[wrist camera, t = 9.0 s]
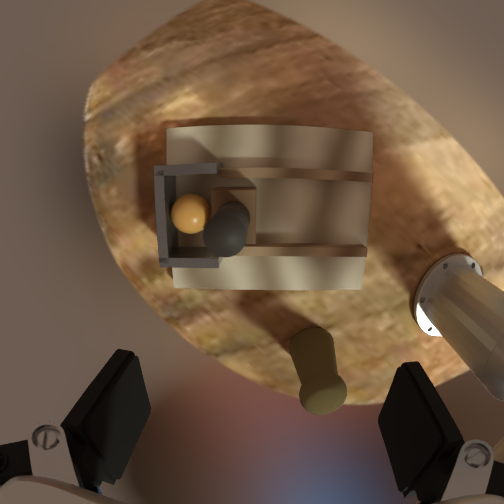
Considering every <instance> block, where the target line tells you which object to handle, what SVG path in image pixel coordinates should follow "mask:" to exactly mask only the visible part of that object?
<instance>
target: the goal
mask: <svg viewBox="0 0 504 504" xmlns="http://www.w3.org/2000/svg"><path fill="white" fill-rule="evenodd" d="M220 168H222V163H195V164H174V165H158V166H154V191H155V211H156V227H157V240H158V252H159V262H160V267H172V268H219V267H220V264H221V261H222V259H223V257H219V256H216V255H214V254H213V253H211V252H210V251H209V250H208V249H207V247H179V241H178V229H177V228H176V227H175V225H174V224H173V222H172V218H171V210H172V207H173V204H174V203H175V201H176V175H191V174H218V173H220Z"/></svg>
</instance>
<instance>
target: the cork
mask: <svg viewBox="0 0 504 504" xmlns="http://www.w3.org/2000/svg"><path fill="white" fill-rule="evenodd" d="M289 350H290V354H291V357H292V360H293V362H294V365H295V368H296V370H297V373H298V376H299V378H300V381H301V384H302V385H301V388H300V393H299V397H300V402H301V404H302V406H303V407H304V408H305V409H306V410H307V411H308V412H310V413H312V414H316V415H323V414H328V413H331V412H333V411H335V410H337V409H338V408H340V407H341V406H342V404H343V403H344V401H345V399H346V396H347V387H346V384H345V383H344V381H343V379H342V378H341V377H340V376H339V375H338V373H337V364H336V357H335V349H334V341H333V338H332V336H331V334H330V333H329V332H327V331H326V330H324V329H321V328H308V329H304V330H302V331H300V332H298V333H297V334H296V335H295V336H294V337H293V339H292V340H291V342H290V346H289Z"/></svg>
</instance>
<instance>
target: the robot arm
mask: <svg viewBox="0 0 504 504" xmlns="http://www.w3.org/2000/svg"><path fill="white" fill-rule="evenodd" d="M413 308H414V316H415V320H416V322H417V324H418V326H419V327H420V328H421V329H422V330H423V331H424V332H425V333H426V334H429V335H431V336H443V338H444V339H445V340H446V341H447V342H448V343H449V344H450V346H451V347H452V348H453V349H454V350H455V351H456V352H457V354H458V355H459V356H460V357H461V358H462V360H463V361H464V362H465V363H466V364H467V366H468V367H469V368H470V369H471V370H472V372H473V373H474V374H475V375H476V377H477V378H478V379H479V380H480V382H481V383H482V384H483V385H484V387H485V388H486V389H487V390H488V392H489V393H490V394H491V395H492V396H494V397H495V398H496V399H499V400H501V401H504V291H502V290H501V289H499V288H498V287H496V286H495V285H493V284H492V283H490V282H489V281H487V280H486V279H484V278H483V277H482V271H481V269H480V266H479V265H478V263H477V262H476V261H475V260H474V259H473V258H472V257H470V256H468V255H466V254H463V253H453V254H449V255H447V256H445V257H443V258H441V259H440V260H439V261H437V262H436V263H435V264H434V265H433V266H432V267H431V268H430V269H429V270H428V271H427V273H426V274H425V275H424V277H423V279H422V280H421V282H420V284H419V287H418V289H417V291H416V295H415V299H414V307H413ZM150 411H151V406H150V402H149V399H148V395H147V391H146V387H145V383H144V379H143V375H142V371H141V367H140V362H139V358H138V357H137V356H135V354H134V353H133V352H132V351H127V350H122V349H117V350H116V351H115V353H114V354H113V355H112V357H111V358H110V359H109V361H108V362H107V363H106V364H105V366H104V367H103V368H102V370H101V371H100V372H99V374H98V375H97V376H96V378H95V379H94V380H93V381H92V382H91V384H90V385H89V386H88V388H87V389H86V390H85V392H84V393H83V394H82V396H81V397H80V399H79V400H78V401H77V403H76V404H75V406H74V407H73V408H72V410H71V411H70V412H69V414H68V415H67V417H66V418H65V419H64V421H63V422H62V423H61V425H58V424H56V423H54V422H50V421H49V422H41V423H38V424H37V425H35V426H34V427H33V428H32V429H31V430H30V432H29V434H28V440H24V441H20V442H14V443H9V444H4V445H0V504H128V503H124V502H121V501H118V500H115V499H112V498H109V497H106V496H103V494H102V492H101V489H100V487H99V486H100V485H101V483H102V481H104V482H107V483H110V484H113V485H114V483H115V481H116V479H120V478H121V477H122V474H123V472H124V470H125V468H126V466H127V463H128V461H129V459H130V457H131V455H132V452H133V450H134V448H135V445H136V443H137V441H138V439H139V437H140V435H141V433H142V430H143V428H144V426H145V424H146V422H147V419H148V417H149V415H150ZM378 424H379V427H380V430H381V434H382V437H383V440H384V443H385V446H386V449H387V452H388V456H389V459H390V462H391V466H392V469H393V473H394V476H395V479H396V483H397V486H398V490H399V491H400V492H403V495H404V498H406V497H410V496H413V495H417V498H418V502H417V504H504V438H503V439H502V440H501V441H500V442H499V443H498V444H497V445H496V446H495V447H494V449H493V450H492V448H491V447H490V446H489V445H488V444H487V443H486V442H484V441H481V440H470V441H468V442H466V443H465V442H464V440H463V437H462V435H461V433H460V431H459V429H458V427H457V426H456V424H455V422H454V420H453V418H452V417H451V415H450V413H449V411H448V410H447V408H446V406H445V404H444V403H443V401H442V399H441V398H440V396H439V394H438V392H437V391H436V389H435V387H434V386H433V384H432V382H431V381H430V379H429V377H428V376H427V374H426V373H425V371H424V369H423V368H422V366H421V365H420V363H419V362H417V361H415V362H405V363H403V364H402V365H401V367H398V368H397V371H396V374H395V376H394V379H393V382H392V384H391V387H390V390H389V392H388V395H387V397H386V400H385V402H384V405H383V408H382V410H381V412H380V414H379V418H378Z"/></svg>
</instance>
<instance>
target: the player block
mask: <svg viewBox="0 0 504 504" xmlns="http://www.w3.org/2000/svg"><path fill="white" fill-rule="evenodd" d="M211 203H212V218H211V219H210V220H209V221H208V222H207V224H206V225H205V227H204V230H203V241H204V244H205V246H206V247H207V249H208V250H209V251H210V252H211V253H213V254H214V255H216V256H219V257H232V256H234V255H236V254H238V253H239V252H240V251H241V250H242V249H243V247H244V246H245V244H256V187H216V188H215V189H213V190H211Z"/></svg>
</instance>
